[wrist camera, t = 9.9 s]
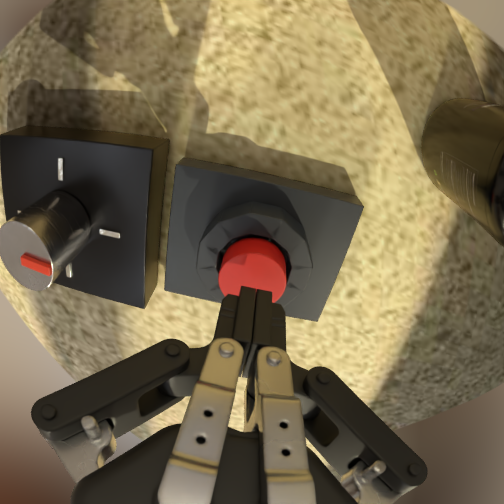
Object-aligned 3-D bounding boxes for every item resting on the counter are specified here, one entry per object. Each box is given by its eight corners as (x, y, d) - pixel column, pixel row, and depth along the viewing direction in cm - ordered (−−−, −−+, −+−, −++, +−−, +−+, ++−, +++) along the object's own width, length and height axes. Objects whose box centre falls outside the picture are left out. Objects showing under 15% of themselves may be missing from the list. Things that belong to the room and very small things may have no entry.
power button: (218, 283, 19) (213, 301, 18) (228, 230, 17) (223, 246, 16) (276, 295, 19) (276, 314, 18) (292, 244, 17) (294, 261, 16)
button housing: (170, 277, 23) (156, 307, 20) (183, 157, 18) (165, 172, 15) (315, 306, 24) (320, 339, 20) (357, 196, 19) (372, 219, 16)
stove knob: (40, 242, 19) (0, 280, 14) (38, 184, 16) (-11, 215, 12) (90, 259, 19) (54, 304, 15) (92, 198, 17) (46, 235, 13)
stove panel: (34, 251, 23) (14, 271, 20) (25, 125, 17) (-3, 135, 15) (157, 284, 23) (144, 311, 21) (170, 139, 18) (152, 149, 15)
